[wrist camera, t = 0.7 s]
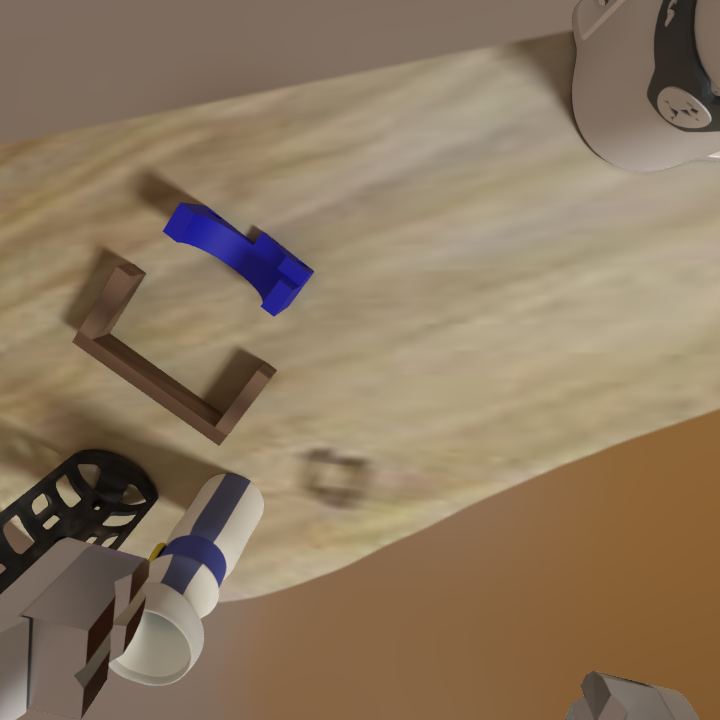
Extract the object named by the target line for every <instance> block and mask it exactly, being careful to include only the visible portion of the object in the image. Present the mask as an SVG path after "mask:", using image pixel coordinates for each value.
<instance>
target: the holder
mask: <svg viewBox="0 0 720 720" xmlns="http://www.w3.org/2000/svg"><path fill="white" fill-rule="evenodd" d="M78 464H95V465H97V466H99V468H100V469H101V473H100V476H99V479H98V482H97V485H96V488H95V489H92V488H91V487H90V486H89V485H88V484H87V483H86V481H85V480H84V479H83V477H82V475H81V474H80V471H79V469H78ZM64 475H66V476H67V477H68V479H69V482H70V484H71V485H72V487H73V489H74V490H75V491H76V493H77V494H78V495H79V496H80V498H81V500H80V501H79V502H78V503H77V504H76V505H75V506H74V507H69V506H67V505H66V503H65V502H64V501H63V500H62V498H61V497H60V495H59V493H58V491H57V488H56V482H57V481H58V480H59V479H60V478H61V477H62V476H64ZM128 484H132V485H134V486H136V487H137V489H138V490H139V491H140V492H141V494H142V495H143V496H144V498H145V500H146V502H144V503H141V504H136V505H128V504H122V503H119V502H120V499H121V497H122V496H123V494H124V492H125V490H126V487H127V485H128ZM42 493H43V494H44V495H45V496H46V499H47V501H48V506H47V507H46V508H45V509H44V510H43V511H42V512H40V513H39V514H37V515H35V513H34V512H33V510H32V503H33V501H34V500H35V499H36V498H37V497H38V496H40V495H41V494H42ZM157 500H158V493H157V490H156V488H155V487H154V485H153V484H152V483H151V481H150V480H149V479H148V478H147V476H146V475H145V474H144V473H143V472H142V471H141V470H140V469H138V468H137V467H136V466H135V465H134V464H132V463H131V462H129V461H127V460H126V459H124V458H122V457H121V456H119V455H116V454H113V453H110V452H106V451H103V450H83V451H81V452H78V453H75V454H73V455H72V456H71V457H70V458H69V459H67V460H66V461H65V462H64V463H62V464H61V465H60V466H59V467H57V468H56V469H55V470H54V471H52V472H51V473H50V474H49V475H47V476H46V477H45V478H44V479H42V480H41V481H40V482H38V483H37V484H36V485H35V486H34V487H32V488H31V489H30V490H29V491H27V492H26V493H25V494H23V495H22V496H21V497H20V498H18V499H17V500H16V501H15V502H13V503H12V504H11V505H10V506H8V507H7V508H6V509H5V510H3V511H2V512H1V513H0V564H3V565H4V566H5V567H6V570H5V571H4V572H2V573H1V574H0V594H1V593H3V592H4V591H5V590H6V589H7V588H8V587H9V586H10V585H11V584H12V583H13V582H14V581H16V580H17V579H18V578H19V577H20V576H21V575H22V574H23V573H24V572H25V571H26V570H27V569H29V568H30V567H31V566H32V565H33V564H34V563H35V562H36V561H37V560H38V559H39V558H40V557H42V556H43V555H44V554H45V553H46V552H47V551H48V550H49V549H50V548H51V547H52V546H53V545H55V544H56V543H57V542H58V541H60V540H62V539H65V538H67V537H69V538H72V539H76V540H79V541H83V542H86V541H87V540H88V539H89V538H91V537H98V538H97V539H96V540H95V541H94V542H93V543H92V544H96V545H100V546H101V545H102V544H103V543H104V542H105V540H106V539H108V538H111V537H115V536H118V537H117V539H116V540H115V541H114V542H113V543H112V544H111V545H110V546H109V547H107V548H110V549H114V550H117V549H118V548H119V547H120V546H121V544H122V543H123V542H124V541H125V539H126V538H127V537H128V536H129V534H130V533H131V532H132V531H133V529H134V528H135V527H136V526H137V524H138V523H139V522H140V521H141V520H142V518H143V517H144V516H145V515H146V513H147V512H148V511H149V510H150V508H151V507H152V506H153V505H154V503H155V502H156V501H157ZM97 506H98V507H100V509H99V510H95V509H94V508H95V507H97ZM135 514H136V516H135V517H134V518H133V519H132V521H130V522H129V523H127V524H125V525H122V526H104V525H102V524H103V523H104V522H105V521H106V520H107V519H108V518H109V517H110V516H114V515H115V516H130V515H135ZM15 515H17V516H18V517H19V518H20V520H21V522H22V524H23V526H24V528H25V529H26V530H27V532H28V533H29V535H30V536H31V537H32V539H33V540H34V541H35V542H34V544H33V545H32V546H31V547H29V548H28V549H27V550H26V551H25V552H24V553H23V554H18V553H16V552H15V551H14V550H13V548H12V547H11V546H10V545H9V543H8V541H7V539H6V537H5V535H4V532H3V528H4V525H5V524H6V523H7V522H8V521H9V520H11V519H12V518H13V517H14V516H15ZM53 515H55V516H58V518H59V520H58V521H57V522H56V523H55V524H54V525H53V526H52V527H51V528H50V529H45V528H44V527H43V524H44V523H45V522H46V521H47V520H48V519H50V518H51V517H52V516H53Z"/></svg>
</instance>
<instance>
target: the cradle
mask: <svg viewBox="0 0 720 720" xmlns="http://www.w3.org/2000/svg"><path fill="white" fill-rule="evenodd" d="M145 275H146V273H145V272H144V271H142V270H141V269H140V268H138V267H137V266H135V265H134V264H132V265H124V266H117V267H116V269H115V270H114V272H113V274H112V275H111V277H110V279H109V280H108V282H107V284H106V285H105V287H104V289H103V291H102V292H101V294H100V296H99V297H98V299H97V301H96V302H95V304H94V306H93V308H92V309H91V311H90V313H89V314H88V316H87V318H86V319H85V321H84V323H83V324H82V326H81V328H80V330H79V331H78V333H77V335H76V336H75V338H74V340H73V341H72V342H73V343H74V344H76V345H77V346H78V347H80V348H81V349H83V350H84V351H86V352H87V353H88V354H90V355H91V356H93V357H94V358H95V359H97V360H98V361H100V362H101V363H102V364H104V365H105V366H107V367H108V368H110V369H111V370H112V371H114V372H115V373H117V374H118V375H119V376H121V377H122V378H124V379H125V380H127V381H128V382H129V383H131V384H132V385H134V386H135V387H136V388H138V389H139V390H141V391H142V392H144V393H145V394H146V395H148V396H149V397H151V398H152V399H153V400H155V401H156V402H158V403H159V404H161V405H162V406H163V407H165V408H166V409H168V410H169V411H170V412H172V413H173V414H175V415H176V416H178V417H179V418H180V419H182V420H183V421H185V422H186V423H187V424H189V425H190V426H192V427H193V428H195V429H196V430H197V431H199V432H200V433H202V434H203V435H204V436H206V437H207V438H209V439H210V440H211V441H213V442H214V443H216V444H217V445H220V444H221V443H222V442H223V441H224V439H225V438H226V437H227V436H228V434H229V433H230V432H231V431H232V429H233V428H234V427H235V425H236V424H237V423H238V421H239V420H240V419H241V417H242V416H243V415H244V413H245V412H246V411H247V409H248V408H249V407H250V405H251V404H252V403H253V401H254V400H255V399H256V397H257V396H258V395H259V393H260V392H261V391H262V389H263V388H264V387H265V386H266V384H267V383H268V382H269V380H270V379H271V378H272V376H273V375H274V374H275V372H276V371H277V370H276V369H274V368H273V367H272V366H270V365H269V364H268V363H266V362H265V363H264V364H263V365H262V366H261V367H260V368H259V369H258V370H257V371H256V373H255V374H254V375H253V377H252V378H251V379H250V381H249V382H248V383H247V385H246V386H245V387H244V389H243V390H242V392H241V393H240V394H239V396H238V397H237V398H236V400H235V401H234V402H233V404H232V405H231V406H230V408H229V409H228V410H227V412H226V413H225V414H224V415H223V414H221V413H220V412H219V411H217V410H216V409H214V408H213V407H212V406H210V405H209V404H207V403H206V402H205V401H203V400H202V399H200V398H199V397H198V396H196V395H195V394H193V393H192V392H191V391H189V390H188V389H186V388H185V387H184V386H182V385H181V384H179V383H178V382H177V381H175V380H174V379H172V378H171V377H170V376H168V375H167V374H165V373H164V372H163V371H161V370H160V369H159V368H157V367H156V366H154V365H153V364H152V363H150V362H149V361H147V360H146V359H145V358H143V357H142V356H140V355H139V354H138V353H136V352H135V351H133V350H132V349H131V348H129V347H128V346H126V345H125V344H124V343H122V342H121V341H119V340H118V339H117V338H115V337H114V336H112V335H111V334H110V332H111V330H112V329H113V327H114V325H115V324H116V322H117V320H118V319H119V317H120V315H121V314H122V312H123V311H124V309H125V307H126V306H127V304H128V302H129V301H130V299H131V298H132V296H133V294H134V293H135V291H136V289H137V288H138V286H139V284H140V283H141V281H142V280H143V278H144V276H145Z"/></svg>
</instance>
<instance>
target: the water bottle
mask: <svg viewBox="0 0 720 720" xmlns="http://www.w3.org/2000/svg"><path fill="white" fill-rule="evenodd" d="M263 510H264V502H263V498H262V495H261V493H260V491H259V490H258V488H257V487H256V486H255V485H254V484H253V483H252V482H251V481H249V480H248V479H246V478H244V477H242V476H240V475H236V474H228V473H227V474H219V475H216V476H214V477H212V478H210V479H209V480H208V481H207V482H206V483H205V484H204V485H203V487H202V488H201V490H200V491H199V493H198V495H197V496H196V498H195V499H194V501H193V502H192V504H191V506H190V507H189V508H188V510H187V511H186V513H185V514H184V516H183V517H182V518H181V520H180V521H179V523H178V524H177V525H176V527H175V528H174V530H173V531H172V533H171V535H170V536H169V538H168V540H167V543H166V544H165V543H160V544H158V545H157V546H156V548H155V549H154V551H153V552H152V554H151V556H150V558H149V561H150V567H149V577H148V578H147V580H146V581H145V583H144V584H143V586H142V587H141V588H142V590H143V592H144V593H145V595H146V601H145V608H144V611H143V615H142V618H141V621H140V624H139V626H138V628H137V630H136V633H135V635H134V637H133V639H132V641H131V642H130V644H129V646H128V647H127V649H126V650H125V652H124V654H123V655H121V656H120V657H118V658H116V659H115V660H113V661H111V662H109V667H110V668H111V669H112V670H113V671H115V672H116V673H117V674H119V675H121V676H123V677H124V678H127V679H130V680H132V681H135V682H139V683H142V684H146V685H152V686H161V685H166V684H170V683H173V682H175V681H177V680H179V679H180V678H182V677H183V676H184V675H185V674H186V673H187V672H188V670H189V669H190V668H191V667H192V666H193V665H194V663H195V662H196V660H197V659H198V656H199V655H200V653H201V651H202V647H203V643H204V631H203V627H202V623H201V620H200V619H201V618H202V617H204V616H206V615H207V614H209V613H210V612H211V611H212V610H213V609H214V607H215V606H216V604H217V601H218V598H219V587H220V585H221V583H222V581H223V580H224V579H226V577H227V576H228V575H229V574H230V573H231V571H232V570H233V568H234V567H235V565H236V563H237V561H238V559H239V557H240V555H241V553H242V551H243V549H244V547H245V545H246V543H247V541H248V539H249V538H250V536H251V534H252V532H253V530H254V529H255V527H256V525H257V523H258V522H259V520H260V518H261V516H262V514H263Z"/></svg>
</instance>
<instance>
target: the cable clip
mask: <svg viewBox="0 0 720 720" xmlns="http://www.w3.org/2000/svg"><path fill="white" fill-rule="evenodd" d="M163 232H164V233H165V234H167V235H168V236H169V237H171V238H172V239H173V240H175V241H176V242H180V243H186V244H189V245H192V246H195V247H197V248H200V249H202V250H204V251H206V252H208V253H210V254H212V255H213V256H215V257H217V258H218V259H220V260H222V261H223V262H225V263H226V264H228V265H229V266H231V267H232V268H233V269H235V270H236V271H237V272H239V273H240V274H241V275H242V276H243V277H244V278H246V279H247V280H248V281H249V282H250V283H251V284H252V285H253V286H254V287H255V289H256V290H257V291H258V292H259V294H260V295H261V297H262V300H263V304H262V305H261V307H262V308H263V309H265V310H266V311H267V312H269V313H270V314H271V315H273V316H276V315H277V314H279V313H280V312H281V311H283V310H284V309H286V308H287V307H288V306H289V305H290V304H291V302H292V301H293V300H294V298H295V297H296V296H297V294H298V293H299V292H300V290H301V289H302V288H303V286H304V285H305V283H306V282H307V281H308V279H309V278H310V277H311V275H312V274H313V273H314V271H313V270H312V269H311V268H309V267H308V266H307V265H305V264H304V263H303V262H302V261H300V260H299V259H298V258H297V257H295V256H294V255H293V254H292V253H290V252H289V251H288V250H286V249H285V248H284V247H283V246H281V245H280V244H279V243H278V242H276V241H275V240H274V239H273V238H271V237H270V236H269V235H267V234H266V233H262V234H261V235H260V236H259V238H258V239H257V241H256V242H255V243H253V242H252V241H251V240H250V239H248V238H247V237H246V236H244V235H243V234H242V233H241V232H239V231H238V230H237V229H235V228H234V227H233V226H232V225H230V224H229V223H228V222H227V221H225V220H224V219H223V218H221V217H220V216H219V215H218V214H216V213H215V212H214V211H212V210H211V209H210V208H209V207H207V206H201V205H194V204H187V203H180V204H179V206H178V207H177V209H176V210H175V212H174V214H173V215H172V217H171V219H170V220H169V222H168V223H167V225H166V227H165V228H164V230H163Z"/></svg>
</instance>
